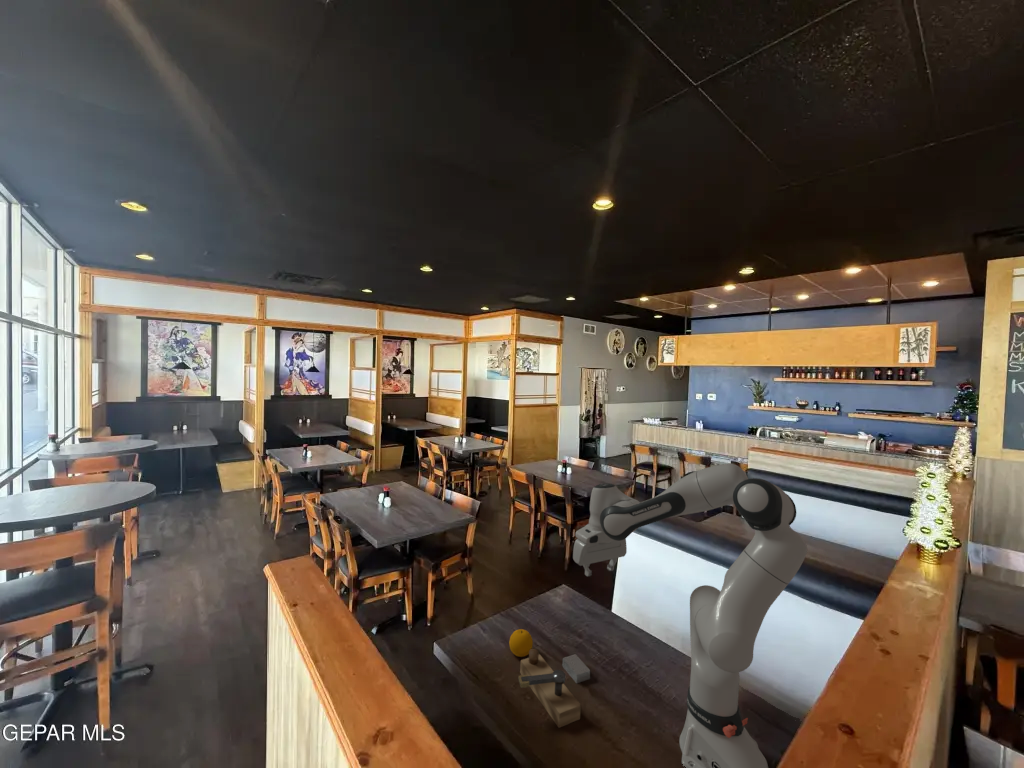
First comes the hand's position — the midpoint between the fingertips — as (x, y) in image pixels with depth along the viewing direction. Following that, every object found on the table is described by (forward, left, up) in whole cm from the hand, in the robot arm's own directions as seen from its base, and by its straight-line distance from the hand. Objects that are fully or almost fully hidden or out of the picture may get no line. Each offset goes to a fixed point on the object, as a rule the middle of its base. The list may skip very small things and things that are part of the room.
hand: (599, 572), depth 137 cm
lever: (-11, +28, -21) cm, 36 cm away
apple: (+12, +22, -29) cm, 39 cm away
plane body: (-7, +23, -29) cm, 38 cm away
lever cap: (-3, +10, -30) cm, 31 cm away
